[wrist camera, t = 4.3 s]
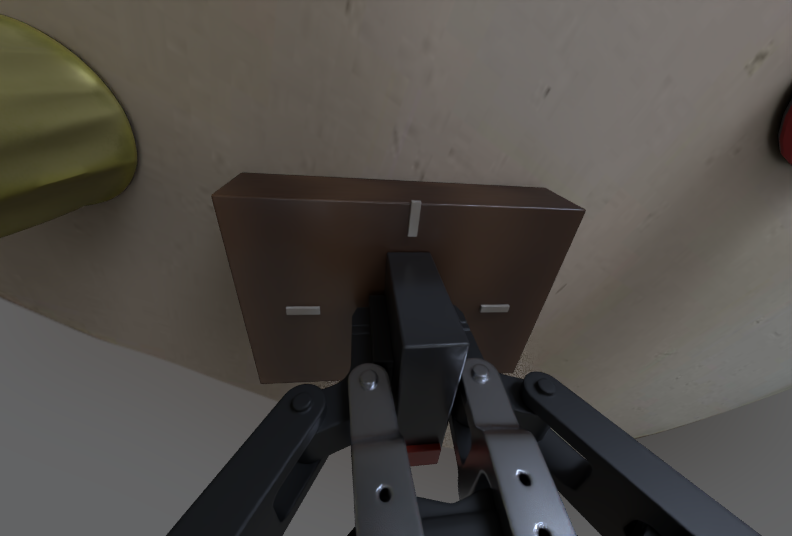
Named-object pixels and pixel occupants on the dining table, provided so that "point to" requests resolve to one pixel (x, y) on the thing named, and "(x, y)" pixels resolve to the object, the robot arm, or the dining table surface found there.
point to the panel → (384, 260)
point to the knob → (422, 352)
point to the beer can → (786, 134)
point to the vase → (55, 132)
